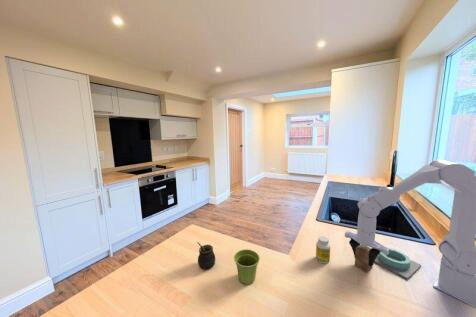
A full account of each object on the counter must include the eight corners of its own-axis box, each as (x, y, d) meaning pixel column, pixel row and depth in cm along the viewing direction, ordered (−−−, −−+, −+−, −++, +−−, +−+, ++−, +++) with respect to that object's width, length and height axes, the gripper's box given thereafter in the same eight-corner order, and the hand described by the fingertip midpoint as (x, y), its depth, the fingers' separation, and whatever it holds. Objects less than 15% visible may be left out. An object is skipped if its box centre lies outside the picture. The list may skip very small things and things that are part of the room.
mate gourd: (212, 274, 70) (211, 250, 69) (194, 271, 72) (192, 248, 70) (218, 261, 77) (216, 239, 76) (201, 259, 79) (200, 238, 77)
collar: (421, 266, 71) (422, 258, 71) (407, 280, 65) (408, 271, 65) (382, 248, 83) (383, 242, 82) (367, 258, 76) (368, 251, 76)
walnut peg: (372, 268, 71) (373, 249, 70) (366, 272, 69) (368, 253, 68) (360, 261, 75) (361, 243, 74) (354, 265, 73) (355, 247, 72)
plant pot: (252, 266, 74) (252, 246, 72) (264, 284, 65) (264, 262, 64) (231, 273, 70) (230, 252, 69) (240, 292, 62) (239, 269, 60)
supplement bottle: (324, 254, 80) (325, 234, 78) (332, 263, 74) (333, 241, 73) (313, 256, 79) (314, 235, 78) (320, 264, 74) (321, 243, 72)
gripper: (393, 234, 66) (390, 268, 68) (351, 219, 78) (349, 248, 80) (386, 241, 62) (382, 276, 64) (342, 224, 74) (341, 254, 76)
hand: (363, 261), depth 72 cm, fingers closed on walnut peg, 4 cm apart
